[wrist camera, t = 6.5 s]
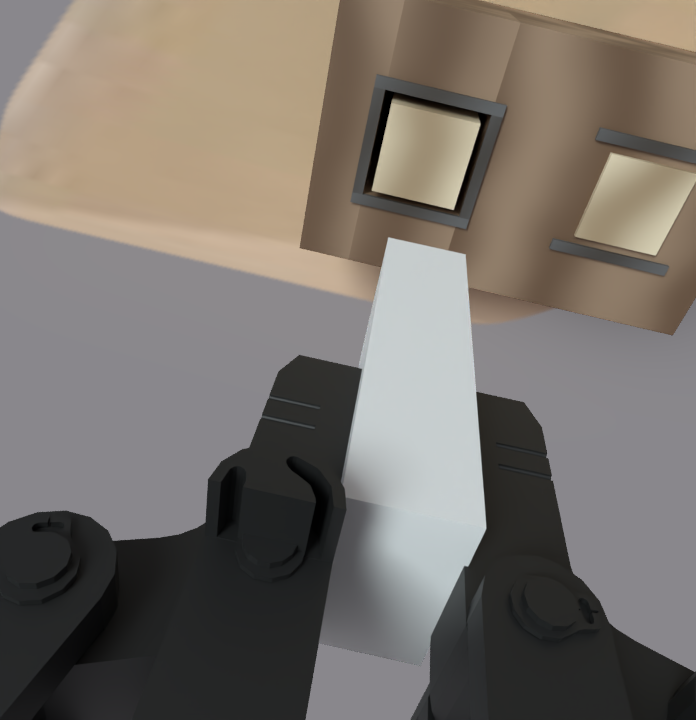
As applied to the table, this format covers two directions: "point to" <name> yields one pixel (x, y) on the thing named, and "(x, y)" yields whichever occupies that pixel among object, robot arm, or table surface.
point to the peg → (425, 150)
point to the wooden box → (521, 155)
